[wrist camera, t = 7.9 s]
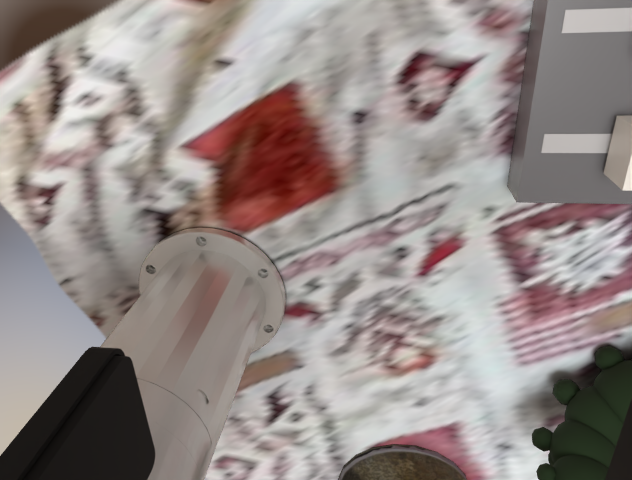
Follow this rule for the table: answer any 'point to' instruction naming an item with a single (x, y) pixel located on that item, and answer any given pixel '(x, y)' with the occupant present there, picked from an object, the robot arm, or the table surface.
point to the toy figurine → (588, 422)
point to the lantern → (400, 465)
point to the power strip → (572, 101)
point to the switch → (620, 154)
